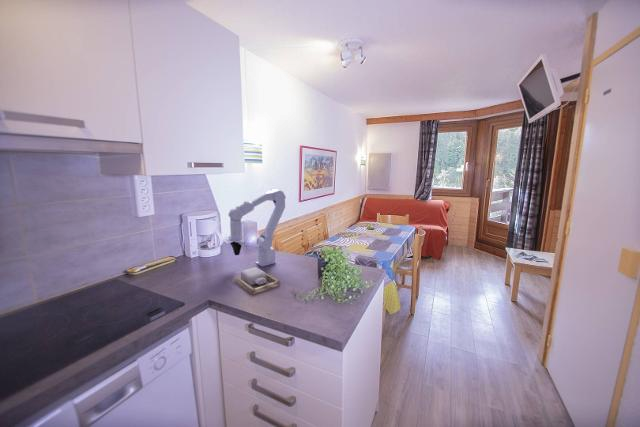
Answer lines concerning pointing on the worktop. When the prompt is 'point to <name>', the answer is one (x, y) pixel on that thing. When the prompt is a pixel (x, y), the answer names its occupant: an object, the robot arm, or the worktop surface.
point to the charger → (253, 276)
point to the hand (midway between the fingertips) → (237, 254)
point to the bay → (261, 288)
